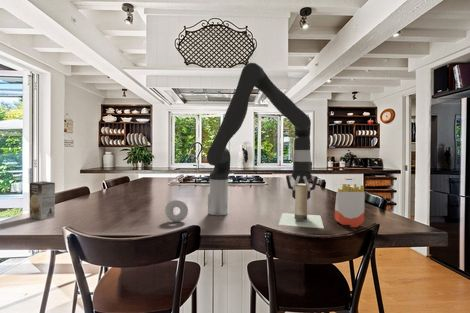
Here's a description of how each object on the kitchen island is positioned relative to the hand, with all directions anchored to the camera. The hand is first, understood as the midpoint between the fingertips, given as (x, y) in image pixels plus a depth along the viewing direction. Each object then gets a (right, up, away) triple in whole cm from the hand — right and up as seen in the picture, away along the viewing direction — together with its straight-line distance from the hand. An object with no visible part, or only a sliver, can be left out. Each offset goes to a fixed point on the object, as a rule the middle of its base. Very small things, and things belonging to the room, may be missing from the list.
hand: (301, 198), depth 121 cm
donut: (-55, -10, -1) cm, 56 cm away
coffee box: (-117, -9, +5) cm, 118 cm away
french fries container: (+20, -11, -4) cm, 23 cm away
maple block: (+1, -1, +6) cm, 6 cm away
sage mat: (0, -11, +1) cm, 11 cm away
